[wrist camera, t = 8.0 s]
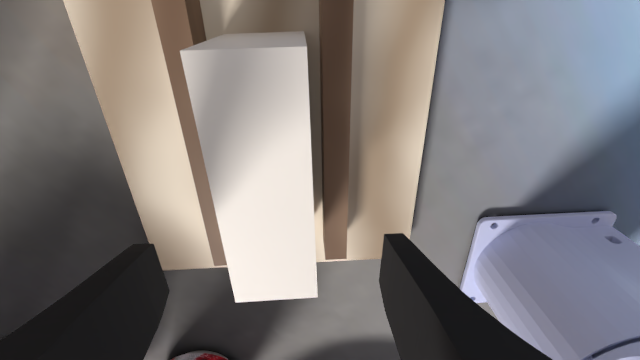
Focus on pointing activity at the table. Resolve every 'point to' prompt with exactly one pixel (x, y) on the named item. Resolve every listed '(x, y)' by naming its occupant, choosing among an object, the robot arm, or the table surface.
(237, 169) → the white box
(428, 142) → the table surface
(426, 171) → the table surface
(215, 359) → the soda can
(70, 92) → the table surface
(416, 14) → the display board
